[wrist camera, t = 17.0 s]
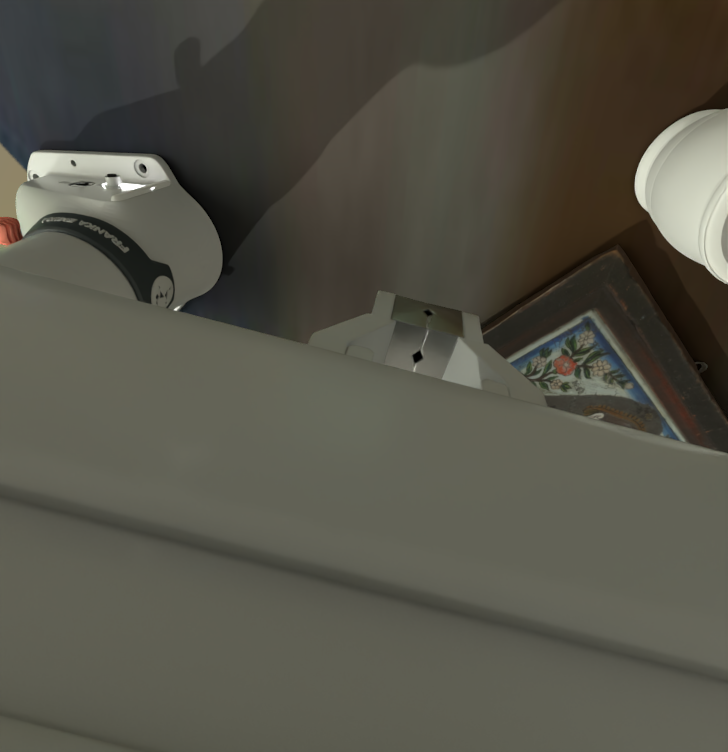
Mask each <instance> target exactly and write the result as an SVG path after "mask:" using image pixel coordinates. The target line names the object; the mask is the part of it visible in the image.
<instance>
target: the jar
mask: <svg viewBox="0 0 728 752" xmlns="http://www.w3.org/2000/svg"><path fill="white" fill-rule="evenodd" d="M635 193H636V197H637V199H638V201H639V203H640V205H641V206H642V207H643V208H644V209H645V210H646V211H648V212H649V214H650V216H651V218H652V219H653V221H654V222H655V224H656V225H657V227H658V229H659V230H660V232H661V233H662V235H663V236H664V237H665V239H666V240H667V241H668V242H669V243H670V244H671V245H672V246H673V247H674V248H675V249H677V250H678V251H679V252H681V253H682V254H683V255H685V256H687V257H688V258H690V259H692V260H694V261H696V262H698V263H700V264H703V265H705V266H706V268H707V269H708V270H709V271H710V273H711V274H713V275H714V276H715V277H716V278H717V279H719V280H721V281H722V282H724V283H726V284H728V108H726V109H723V110H718V109H712V110H704V111H699V112H696V113H693V114H690V115H688V116H686V117H684V118H682V119H680V120H678V121H677V122H675V123H673V124H672V125H671V126H669V127H668V128H667V129H665V130H664V131H663V132H662V133H661V134H660V135H659V136H658V137H657V138H656V139H655V140H654V141H653V142H652V144H651V145H650V146H649V147H648V149H647V150H646V152H645V153H644V155H643V157H642V159H641V161H640V163H639V166H638V168H637V172H636V176H635Z"/></svg>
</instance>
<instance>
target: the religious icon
mask: <svg viewBox="0 0 728 752" xmlns="http://www.w3.org/2000/svg"><path fill="white" fill-rule="evenodd" d="M481 331H482V337H483V342H484V344H488V345H489V346H491V347H492V348H493V349H494V350H495V351H496V352H497V353H499V354H500V355H501V356H502V357H503V358H504V359H505V360H506V361H508V362H509V363H510V364H511V365H512V366H513V367H514V368H516V369H517V370H518V371H519V372H520V373H521V374H522V375H523V376H525V377H526V378H527V379H528V380H529V381H530V382H531V383H532V384H534V385H535V386H536V387H537V388H538V389H539V390H540V391H542V392H543V394H544V397H545V400H546V403H547V406H548V407H551V408H554V409H558V410H562V411H566V412H570V413H574V414H578V415H582V416H585V417H589V418H593V419H597V420H601V421H605V422H609V423H613V424H616V425H620V426H624V427H628V428H632V429H636V430H640V431H644V432H647V433H651V434H655V435H659V436H663V437H667V438H671V439H674V440H678V441H682V442H686V443H690V444H694V445H698V446H702V447H705V448H709V449H713V450H717V451H721V452H725V453H728V419H727V417H726V416H725V414H724V412H723V410H722V409H721V408H720V406H719V404H718V403H717V401H716V400H715V398H714V397H713V395H712V394H711V392H710V390H709V389H708V387H707V386H706V384H705V383H704V381H703V379H702V378H701V376H700V373H701V372H703V371H705V370H706V369H707V364H705V363H703V362H694V361H693V359H692V358H691V356H690V355H689V353H688V351H687V350H686V348H685V347H684V345H683V343H682V342H681V340H680V339H679V337H678V335H677V334H676V333H675V331H674V329H673V328H672V326H671V324H670V323H669V322H668V321H667V319H666V317H665V315H664V314H663V312H662V311H661V309H660V307H659V306H658V304H657V303H656V302H655V300H654V298H653V297H652V295H651V293H650V291H649V290H648V288H647V286H646V285H645V283H644V281H643V280H642V278H641V277H640V275H639V274H638V272H637V270H636V269H635V268H634V266H633V264H632V263H631V261H630V260H629V258H628V256H627V255H626V253H625V252H624V250H623V249H622V248H621V247H620V246H619V245H615V246H614V247H612V248H610V249H608V250H607V251H605V252H602V253H600V254H598V255H596V256H594V257H593V258H591V259H589V260H588V261H586V262H585V263H583V264H582V265H580V266H578V267H577V268H575V269H574V270H572V271H571V272H569V273H568V274H566V275H565V276H563V277H562V278H560V279H558V280H557V281H555V282H554V283H552V284H550V285H549V286H547V287H546V288H544V289H543V290H541V291H539V292H537V293H535V294H534V295H533V296H532V297H530V298H528V299H527V300H525V301H523V302H522V303H520V304H519V305H517V306H515V307H514V308H513V309H511V310H510V311H508V312H507V313H506V314H504V315H502V316H500V317H499V318H498V319H496V320H495V321H493V322H492V323H490V324H489V325H487V326H486V327H484V328H483V329H481ZM696 364H701V365H702V367H701V368H700V369H699V371H698V369H697V366H696Z"/></svg>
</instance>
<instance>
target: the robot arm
mask: <svg viewBox="0 0 728 752" xmlns="http://www.w3.org/2000/svg"><path fill="white" fill-rule="evenodd" d="M143 164H144V165H145V166H146V168H147V171H145V170H144V168H143ZM38 176H39V177H38ZM27 179H28V181H27V182H24V183H23V184H22V185H21V186H20V187H19V189H18V191H17V195H16V211H17V217H18V220H17V219H14V218H10V217H0V244H2V245H7V246H5V247H2V248H0V752H728V453H725V452H721V451H717V450H713V449H709V448H705V447H702V446H698V445H694V444H690V443H686V442H682V441H678V440H674V439H671V438H667V437H663V436H659V435H655V434H651V433H647V432H644V431H640V430H636V429H632V428H628V427H624V426H620V425H616V424H613V423H609V422H605V421H601V420H597V419H593V418H589V417H585V416H582V415H578V414H574V413H570V412H566V411H562V410H558V409H554V408H551V407H548V406H547V403H546V400H545V397H544V394H543V392H542V391H540V390H539V389H538V388H537V387H536V386H535V385H534V384H532V383H531V382H530V381H529V380H528V379H527V378H526V377H525V376H523V375H522V374H521V373H520V372H519V371H518V370H517V369H516V368H514V367H513V366H512V365H511V364H510V363H509V362H508V361H506V360H505V359H504V358H503V357H502V356H501V355H500V354H499V353H497V352H496V351H495V350H494V349H493V348H492V347H491V346H489V345H488V344H484V342H483V337H482V331H481V326H480V320H479V316H477V315H474V314H469V313H465V312H462V311H458V310H454V309H450V308H446V307H441V306H437V305H433V304H427V303H424V302H420V301H417V300H413V299H409V298H406V297H402V296H399V295H395V294H393V293H389V292H384V291H380V290H379V291H378V293H377V297H376V300H375V304H374V307H373V311H372V314H368V313H366V314H364V315H361V316H358V317H355V318H353V319H350V320H347V321H344V322H342V323H339V324H336V325H333V326H331V327H328V328H325V329H322V330H320V331H317V332H314V333H313V334H312V336H311V338H310V340H309V342H308V344H303V343H299V342H295V341H291V340H288V339H284V338H280V337H276V336H272V335H268V334H264V333H261V332H257V331H253V330H249V329H245V328H241V327H237V326H233V325H230V324H226V323H222V322H218V321H214V320H210V319H206V318H202V317H199V316H195V315H191V314H187V313H183V312H179V310H180V309H181V308H182V307H183V306H184V305H185V303H186V302H187V301H189V300H191V299H193V298H195V297H198V296H200V295H202V294H204V293H206V292H207V291H209V290H210V289H211V288H212V287H213V286H214V285H215V283H216V282H217V280H218V278H219V276H220V273H221V270H222V262H223V256H222V247H221V243H220V239H219V236H218V234H217V231H216V229H215V227H214V225H213V223H212V221H211V220H210V218H209V216H208V215H207V213H206V212H205V211H204V210H203V208H202V207H201V206H200V205H199V204H198V203H197V201H196V200H195V199H194V198H192V197H191V196H190V195H189V194H188V193H187V192H186V191H185V190H184V189H183V188H182V187H181V186H180V185H179V183H178V182H177V180H176V178H175V176H174V175H173V173H172V171H171V170H170V168H169V166H168V165H167V164H166V162H165V161H164V160H163V159H162V158H161V157H160V156H158V155H155V154H139V153H114V152H89V151H64V150H38V151H36V152H33V153H32V154H31V156H30V159H29V163H28V170H27Z"/></svg>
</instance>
